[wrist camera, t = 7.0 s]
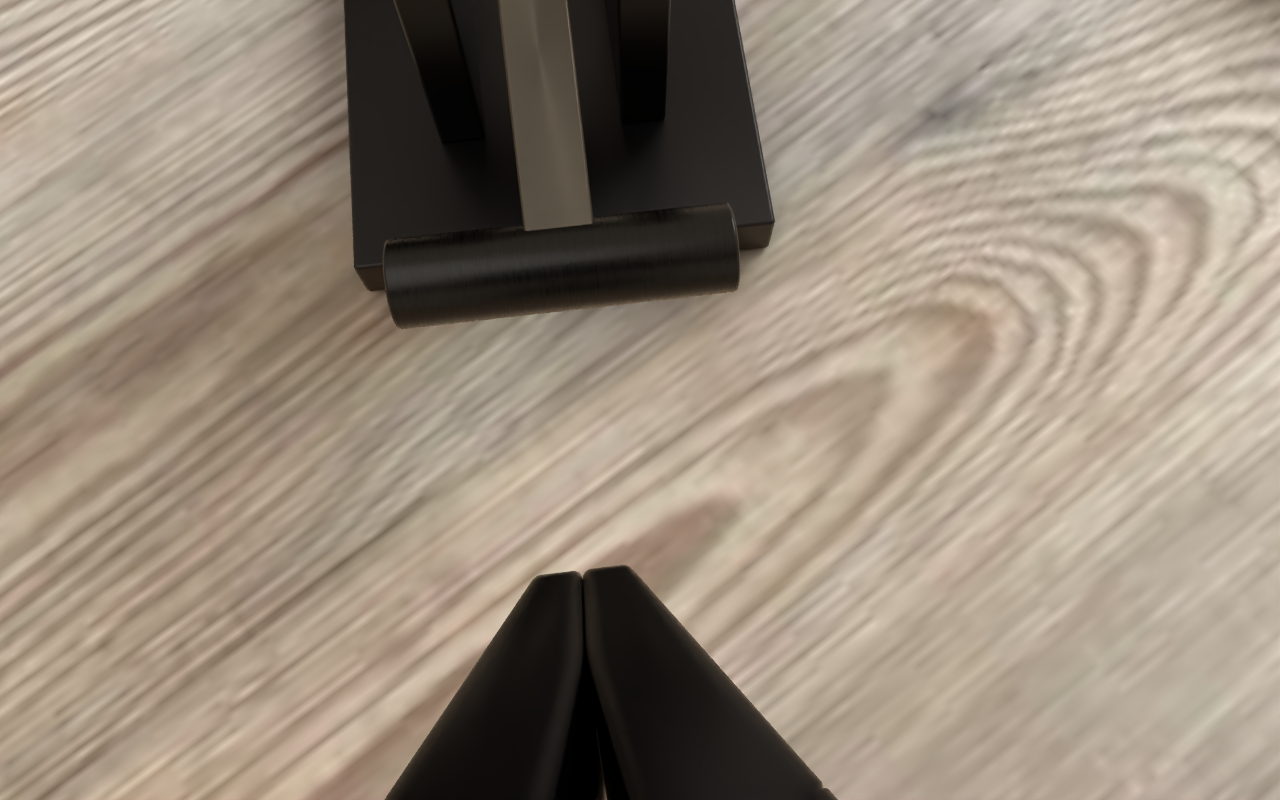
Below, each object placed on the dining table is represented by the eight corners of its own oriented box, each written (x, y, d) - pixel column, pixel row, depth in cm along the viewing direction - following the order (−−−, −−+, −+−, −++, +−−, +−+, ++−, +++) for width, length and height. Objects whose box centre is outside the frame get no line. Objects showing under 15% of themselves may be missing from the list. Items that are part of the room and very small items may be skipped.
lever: (728, 301, 18) (748, 279, 15) (411, 336, 18) (381, 320, 15) (660, -264, 18) (669, -372, 16) (349, -236, 18) (310, -341, 16)
